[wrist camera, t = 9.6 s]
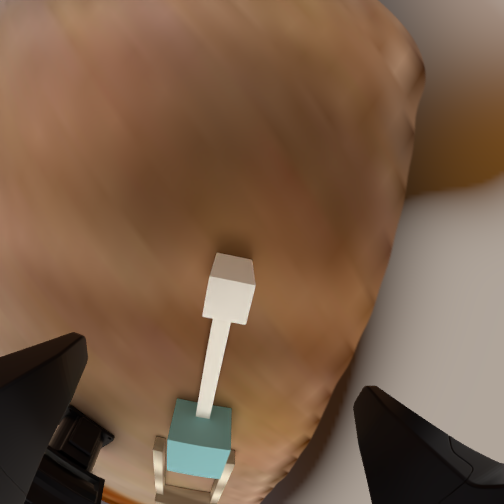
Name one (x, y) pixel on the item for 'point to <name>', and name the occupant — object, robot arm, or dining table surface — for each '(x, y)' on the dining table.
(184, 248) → the dining table surface
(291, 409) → the dining table surface
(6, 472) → the robot arm
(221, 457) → the teal and white dumbbell
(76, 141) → the dining table surface
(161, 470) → the beige u-shaped frame
